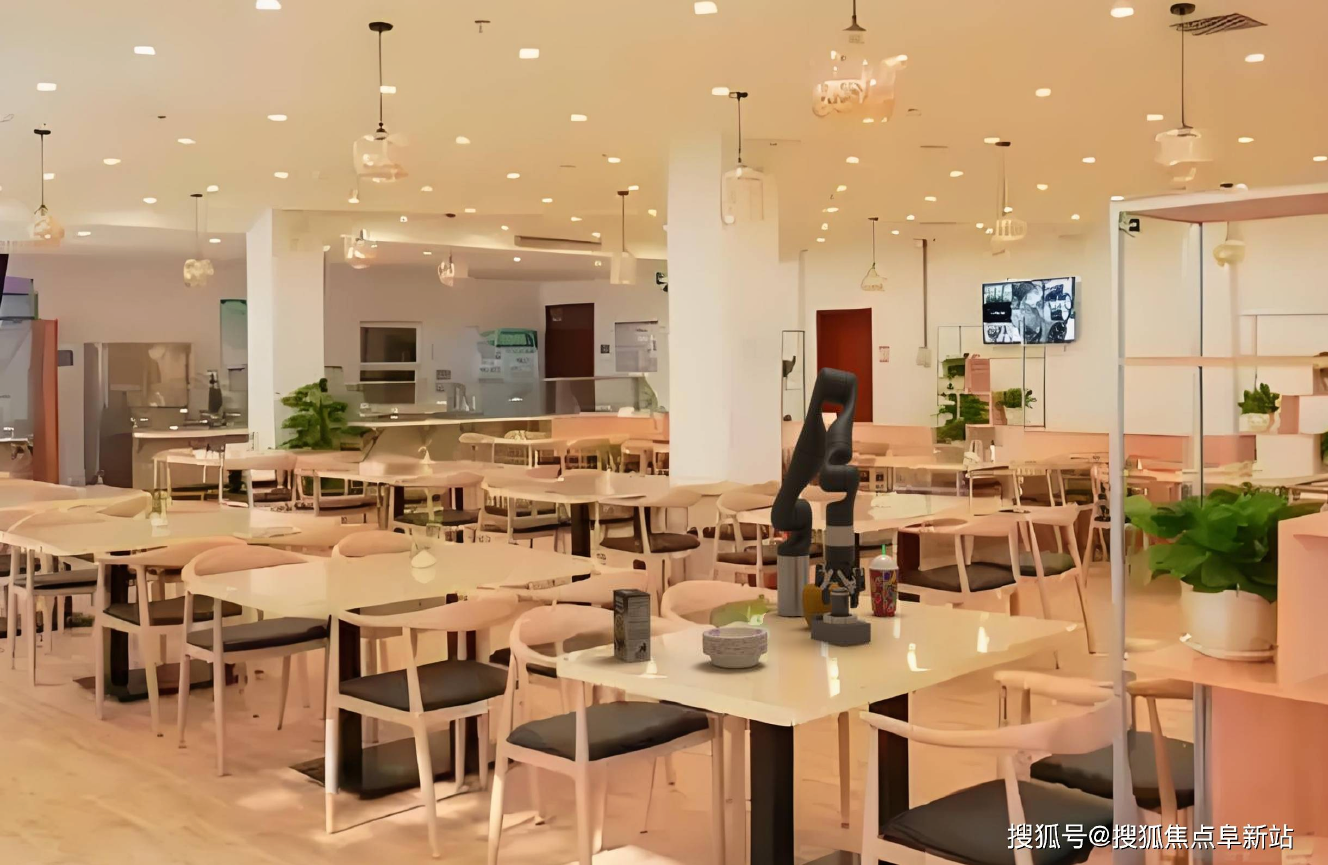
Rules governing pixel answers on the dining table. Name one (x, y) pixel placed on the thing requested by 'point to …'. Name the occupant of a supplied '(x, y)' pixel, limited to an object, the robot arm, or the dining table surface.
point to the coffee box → (631, 624)
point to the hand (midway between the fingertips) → (839, 606)
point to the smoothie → (883, 584)
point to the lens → (840, 602)
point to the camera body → (840, 629)
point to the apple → (814, 601)
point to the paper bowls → (735, 646)
